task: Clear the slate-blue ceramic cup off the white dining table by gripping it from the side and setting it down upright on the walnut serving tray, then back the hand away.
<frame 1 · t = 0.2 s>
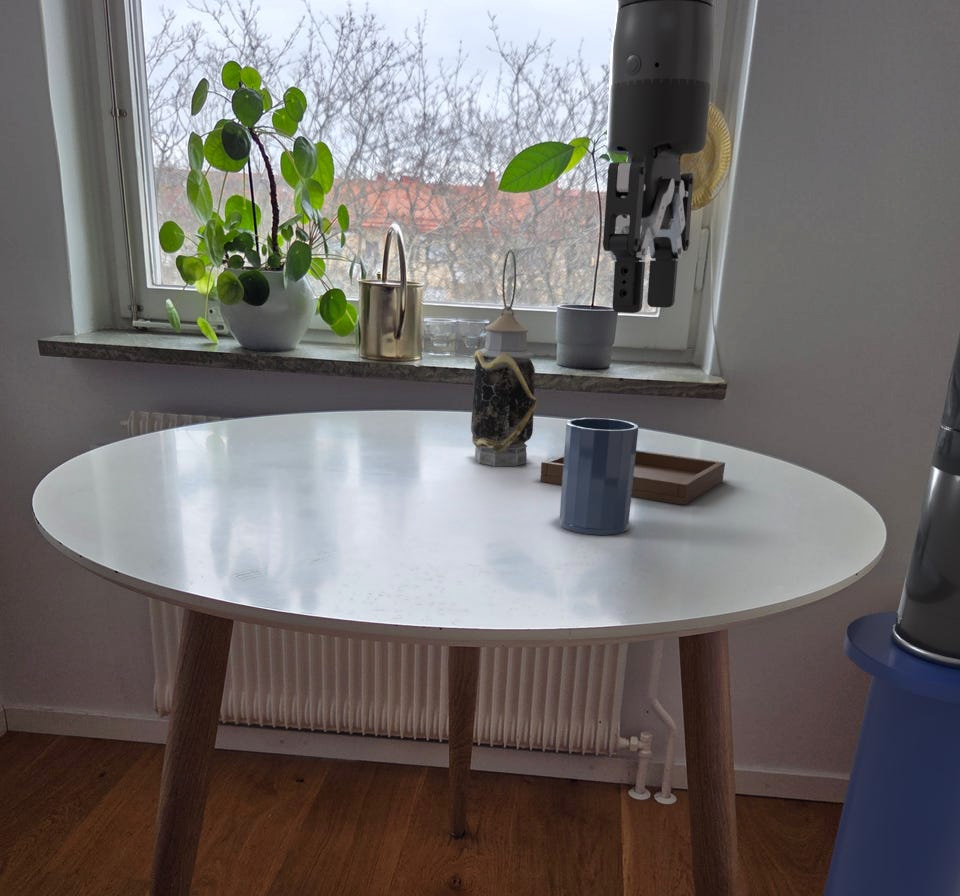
hand: (644, 309, 77), 21 cm above the table, tool pointing down, fingers open, 8 cm apart
lantern: (501, 462, 120), on the table
tray: (632, 481, 112), on the table
cup: (593, 525, 93), on the table
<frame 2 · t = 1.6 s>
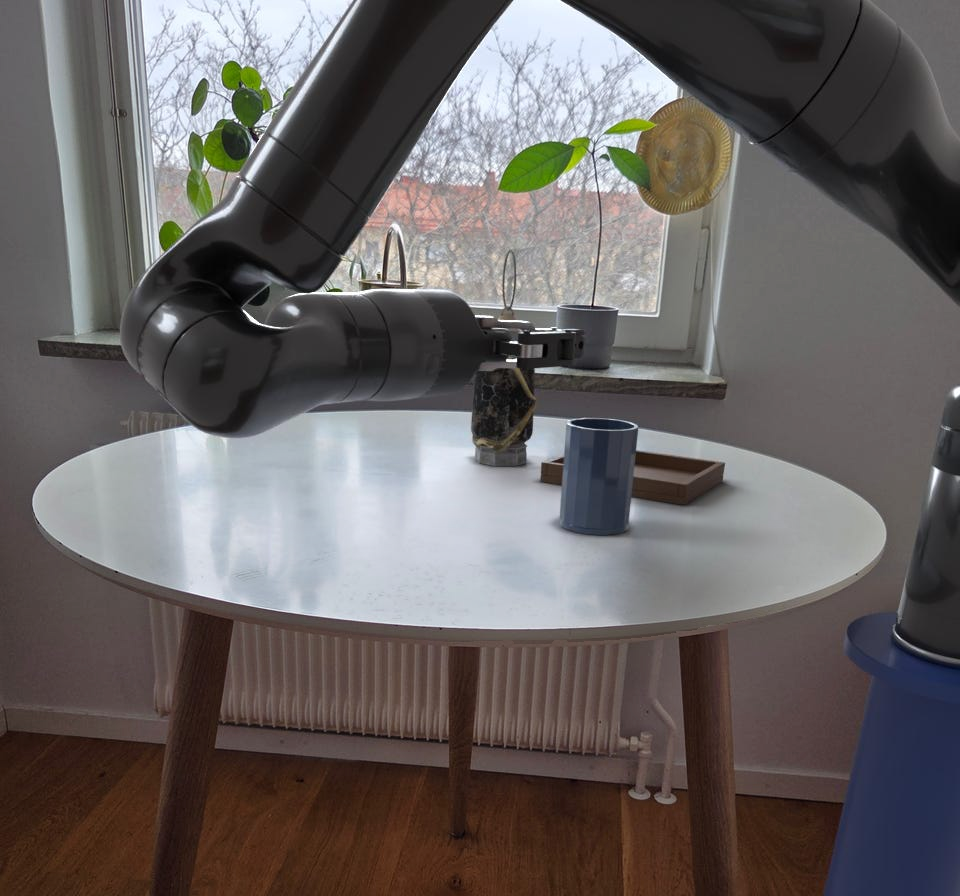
hand: (538, 338, 78), 18 cm above the table, tool horizontal, fingers open, 8 cm apart
nothing on the table moved.
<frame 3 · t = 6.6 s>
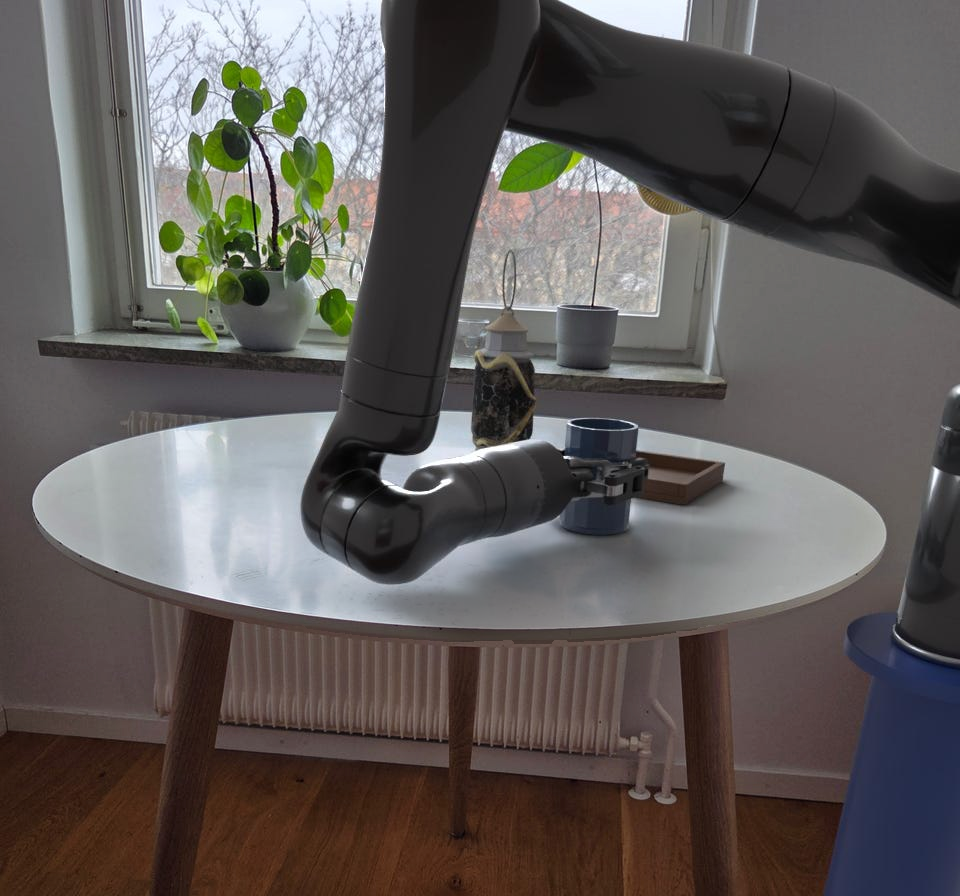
hand: (610, 462, 92), 6 cm above the table, tool horizontal, fingers closed on cup, 7 cm apart
cup: (593, 525, 93), on the table, touching gripper
everything else where it was.
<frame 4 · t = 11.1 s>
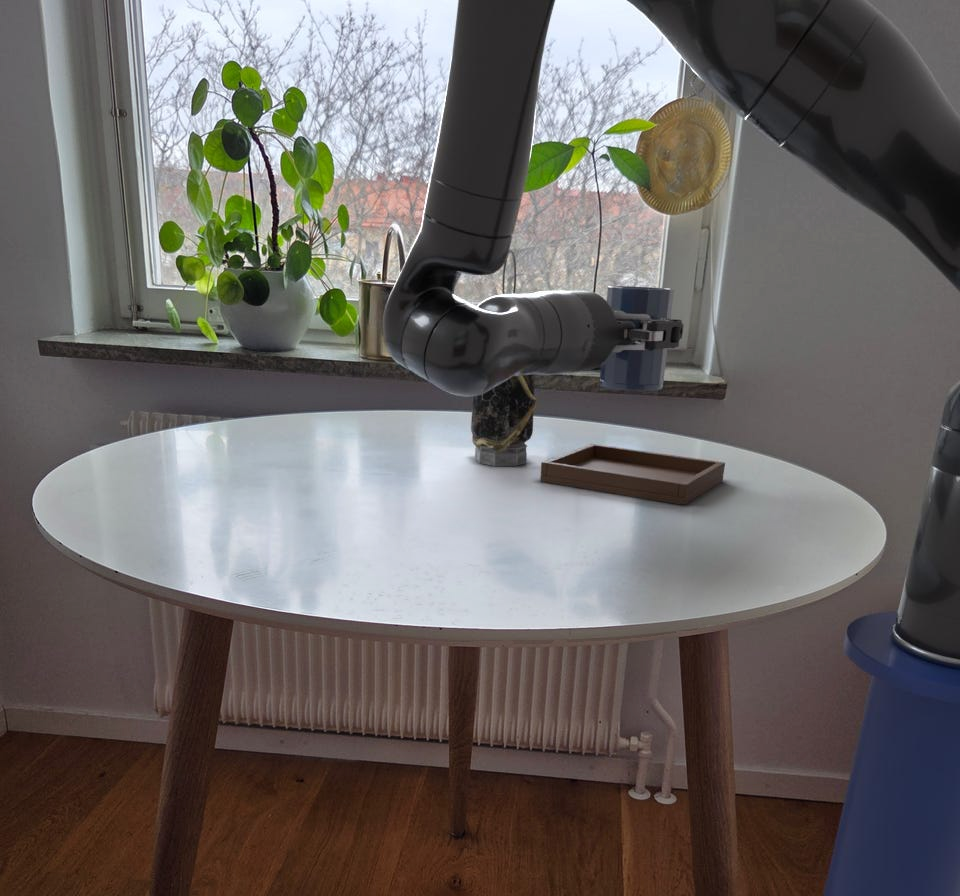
hand: (646, 327, 101), 18 cm above the table, tool horizontal, fingers closed on cup, 7 cm apart
cup: (630, 386, 101), point 12 cm above the table, touching gripper
everything else where it was.
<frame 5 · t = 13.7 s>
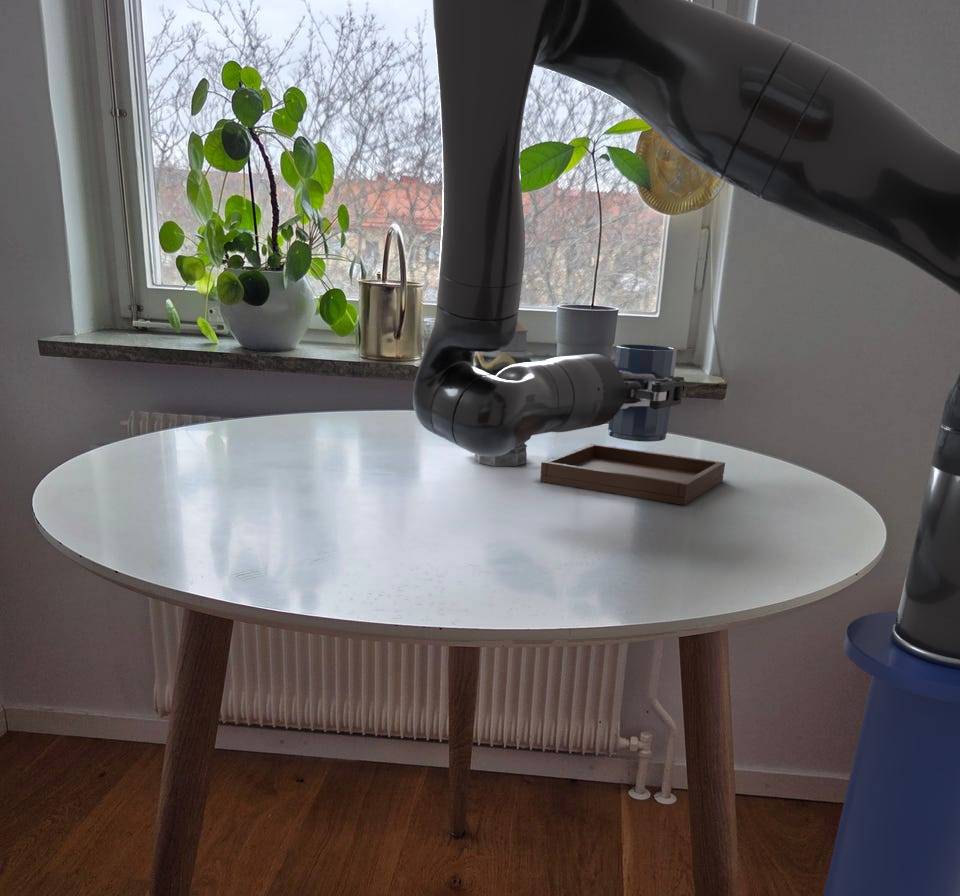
hand: (651, 382, 109), 11 cm above the table, tool horizontal, fingers closed on cup, 7 cm apart
cup: (636, 436, 110), point 5 cm above the table, touching gripper
everything else where it was.
when the fingers open (7 cm above the table, at t = 15.7 s): cup stays where it is, resting on tray.
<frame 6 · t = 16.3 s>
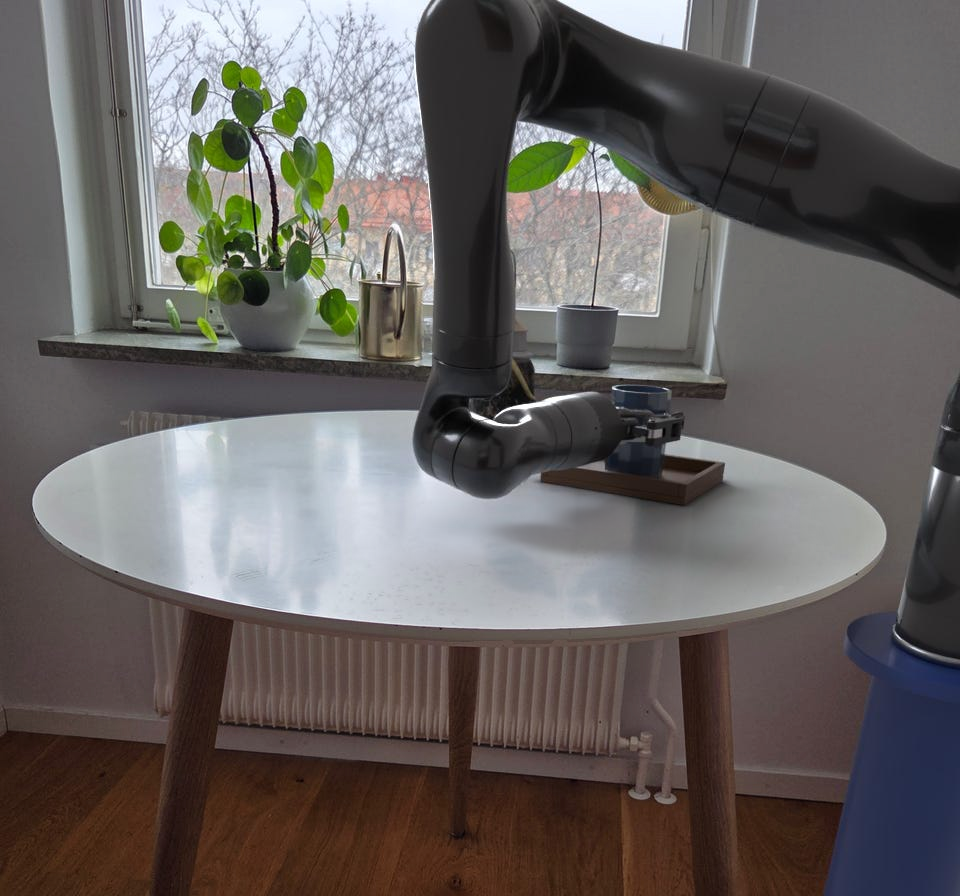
hand: (647, 415, 110), 8 cm above the table, tool horizontal, fingers open, 8 cm apart
cup: (632, 474, 112), point 1 cm above the table, touching tray
everything else where it was.
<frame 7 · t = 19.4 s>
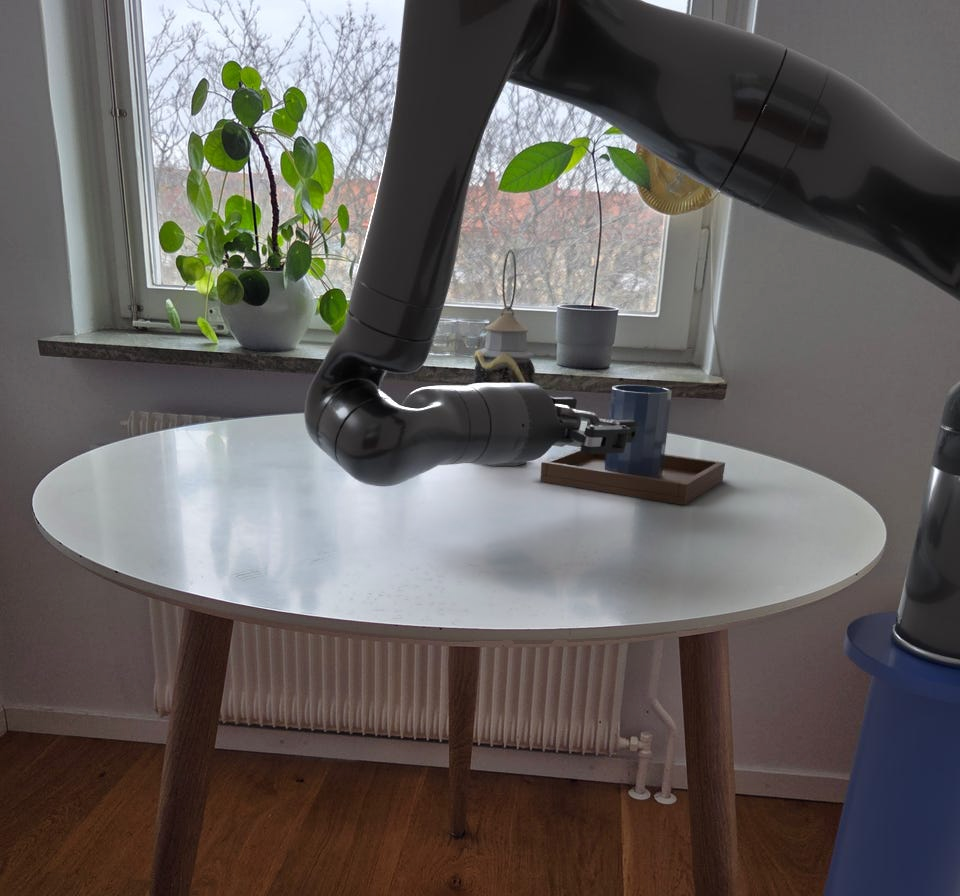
hand: (602, 418, 100), 9 cm above the table, tool horizontal, fingers open, 8 cm apart
nothing on the table moved.
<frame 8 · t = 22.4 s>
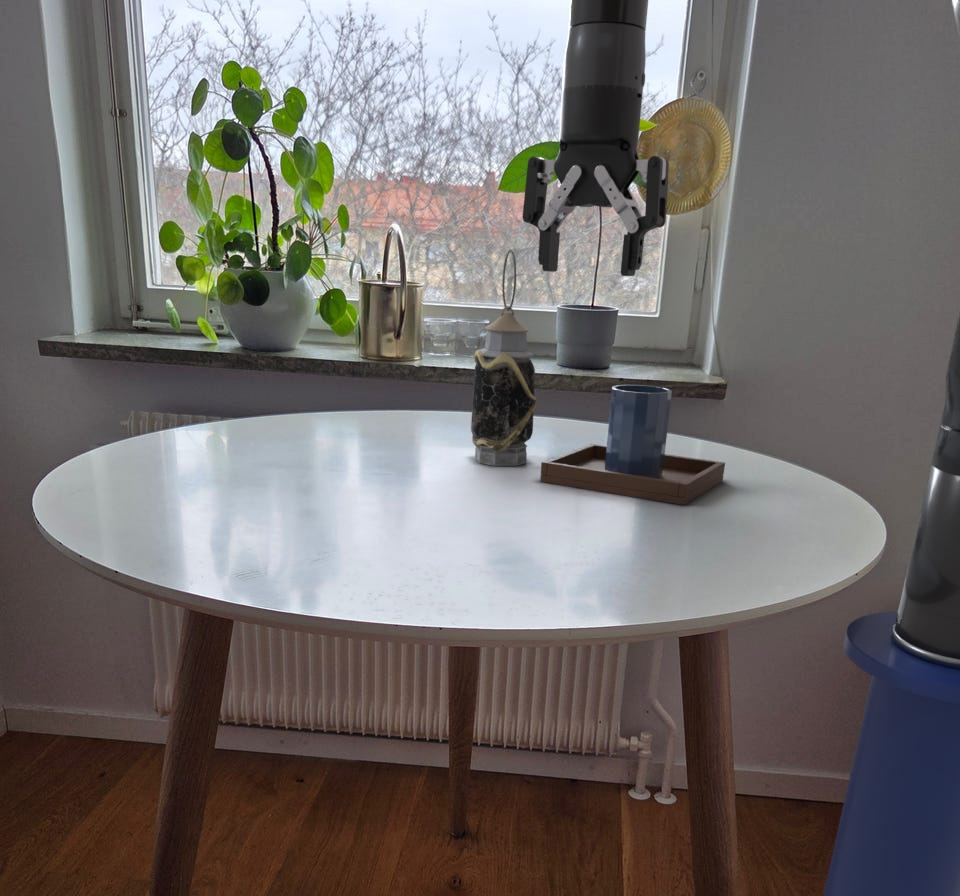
hand: (588, 273, 94), 23 cm above the table, tool pointing down, fingers open, 8 cm apart
nothing on the table moved.
at the end: cup inside the target area in the tray (0.1 cm from its centre), point 0.8 cm above the tray's base; cup tilted 0°; the gripper is holding nothing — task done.
